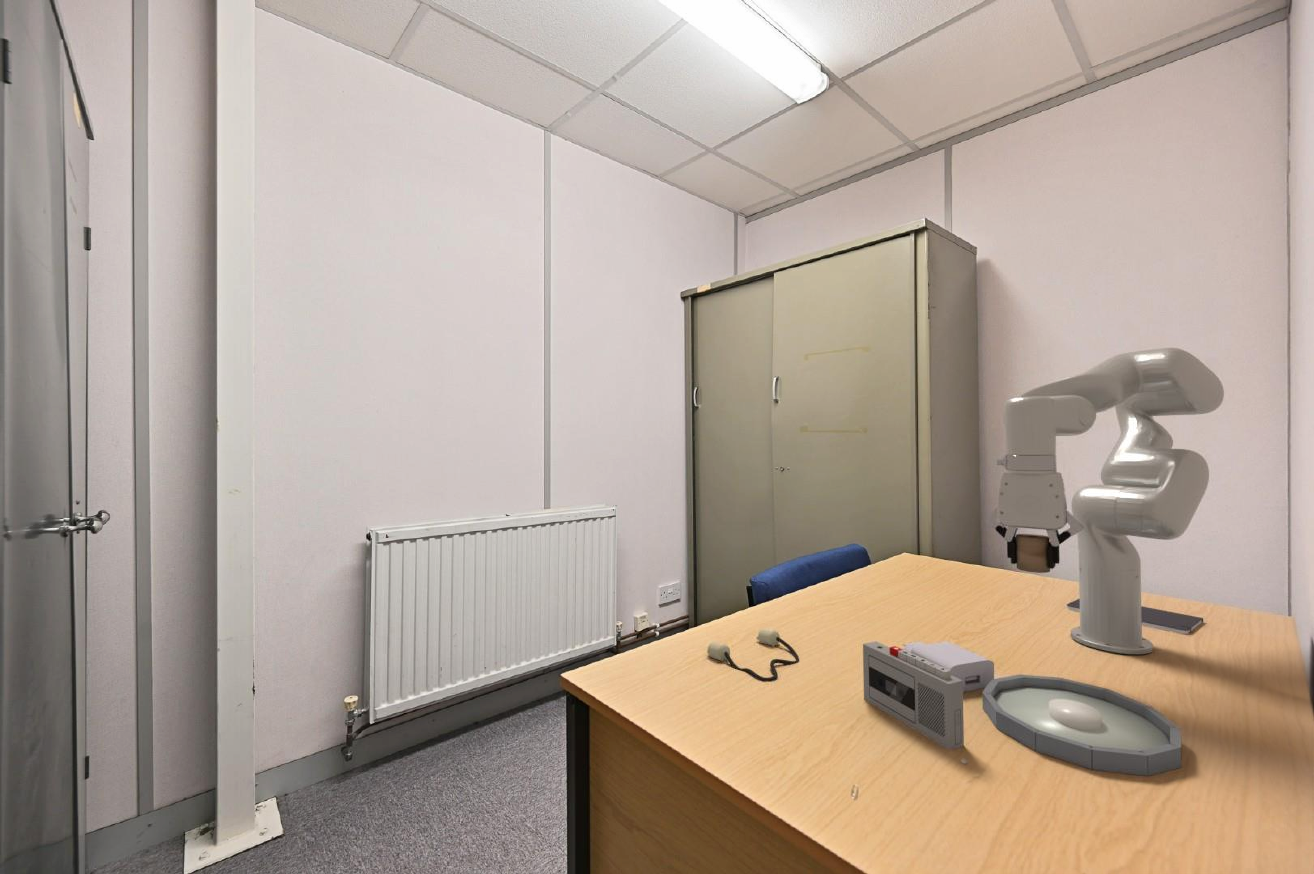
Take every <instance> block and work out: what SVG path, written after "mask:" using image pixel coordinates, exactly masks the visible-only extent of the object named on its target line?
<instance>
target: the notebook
mask: <svg viewBox="0 0 1314 874" xmlns="http://www.w3.org/2000/svg"><path fill="white" fill-rule="evenodd" d="M1066 606H1067V610H1069V611H1073V612H1078V613H1080V597H1079V598H1077V599H1075V600H1073V601H1071V602H1069V603H1066ZM1141 613H1142V627H1147V626H1149V627H1148V628H1151V627H1153V628H1152V629H1157V630H1162V631H1166V630H1168V631H1167V632H1170V631H1172V633H1175V632H1176V634H1179V635H1180V634H1181V635H1188V634H1189V633H1190V634H1192V631H1193V630H1194V629H1196V628H1197V627H1198V626H1199V625H1201V624H1202V622H1203V623H1204V618H1203V617H1199V616H1193V615H1189V614H1185V613H1178V612H1173V611H1167V610H1163V609H1158V608H1153V607H1147V606H1142V605H1141ZM1191 630H1192V631H1191Z"/></svg>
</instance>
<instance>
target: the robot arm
mask: <svg viewBox="0 0 1314 874" xmlns="http://www.w3.org/2000/svg"><path fill="white" fill-rule="evenodd" d="M1224 396H1225V390H1224V386H1223V384H1222V381H1221V379H1220V378H1219V377H1218V376H1217V375H1216V374H1215V372H1214V371H1212V370H1211V369H1210V368H1209V367H1208V366H1207V365H1205V364H1204V362H1203V361H1201V360H1200V359H1199V358H1197V357H1196V356H1194V355H1193V354H1192V353H1190V352H1188V351H1186V350H1184V349H1181V348H1178V347H1162V348H1156V349H1147V350H1145V349H1144V350H1138V351H1131V352H1124V353H1119V354H1116V355H1113V356H1111V357H1109V358H1107V359H1105V360H1104V361H1102V362H1100V363H1099V364H1097V365H1095V366H1093V367H1092V368H1090V369H1087V370H1086V371H1084V372H1082V373H1079V374H1075V375H1072V376H1068V377H1065V378H1062V379H1060V380H1056V381H1054V382H1050V383H1047V384H1043V385H1039V386H1038V387H1033V388H1032V389H1029V390H1027V391H1025V392H1023V393H1021V394H1019V395H1018V396H1016V397H1012V398H1009V399H1008V400H1007V401H1006V402H1005V406H1004V412H1003V415H1002V416H1003V417H1002V421H1003V424H1004V431H1005V432H1004V433H1005V436H1004V437H1005V439H1004V440H1005V455H1004V456H1003V457H997V458H996V465H997V466H1002V467H1004V468H1005V470H1004V471H1001V472H1000V475H999V482H998V489H997V503H996V508H995V509H994V510H993V511H992V513H990V514H989V516H988V517H987V518H985V520H984V521H985V523H986V524H987V525H988V526H990V527H991V528H992V529H993V530H995V531H996V532H997V533H998V534H999V535H1000V536H1001V537H1002V538H1003V539H1004V541H1006V553H1007V555H1006V556H1007V559H1010V563H1011V565H1016V563H1017V562H1016V535H1017V532H1018V529H1019V528H1021V529H1033V530H1044V531H1046V533H1047V536H1048V537H1049V546H1048V547H1047V554H1048V568H1050V570H1053V569H1055V567H1056V565H1057V564H1058V565H1060V562H1061V561H1060V559H1061V558H1060V546H1061V544H1062V543H1064V542H1066V541H1067V540H1068V539H1070V538H1071V537H1073V536H1074V535H1077V544H1078V545H1077V547H1078V581H1079V582H1078V585H1079V589H1078V590H1079V591H1078V592H1079V598H1080V612H1079V626H1076V627H1072V629H1070V637H1071V638H1072V639H1073V640H1075V642H1077V643H1079V644H1081V645H1083V646H1087V647H1091V648H1093V649H1095V650H1096V649H1097V650H1100V651H1105V652H1111V653H1115V654H1123V655H1146V654H1147V655H1148V654H1150V653H1152V652H1153V651H1154V645H1153V643H1152V642H1151V641H1150V639H1148V638H1145V637H1143V628H1142V627H1143V626H1142V613H1141V606H1142V572H1141V571H1142V569H1141V567H1142V565H1141V564H1142V563H1141V557H1140V553H1139V552H1138V550H1137V548H1136V547H1135V545H1134V544H1133V542H1132V541H1131V540H1130V539H1129V537H1128V536H1130V537H1138V538H1145V539H1146V538H1147V539H1153V540H1154V539H1155V540H1161V541H1163V540H1164V541H1165V540H1166V541H1168V540H1175V539H1178V538H1179V537H1181V536H1182V535H1184V533H1185V532H1186V530H1187V529H1188V528H1189V525H1190V524H1191V521H1192V520H1193V517H1194V516H1195V514H1196V511H1197V509H1198V507H1199V506H1200V503H1201V502H1202V499H1203V498H1204V495H1205V493H1206V491H1207V489H1208V485H1209V481H1210V480H1209V479H1210V470H1209V465H1208V462H1207V461H1206V459H1205V458H1204V457H1203V456H1202V455H1201V454H1200V453H1198V452H1196V451H1195V450H1190V449H1185V448H1173V446H1174V439H1173V437H1172V435H1171V434H1170V433H1169V431H1168V430H1167V428H1165V427H1164V426H1163V425H1162V424H1160V423H1159V422H1157V421H1155V419H1154V417H1161V416H1162V417H1164V416H1166V417H1167V416H1184V415H1185V416H1187V415H1188V416H1191V415H1193V416H1194V415H1205V414H1209V413H1212V412H1214V411H1216V410H1217V409H1218V408H1219V407H1220V406H1221V405H1222V403H1223V401H1224V399H1225V397H1224ZM1113 408H1114V409H1115V413H1116V416H1117V421H1118V425H1119V430H1120V435H1119V437H1118V440H1117V441H1116V443H1115V445H1114V446H1113V448H1112V449H1111V451H1110V453H1109V455H1108V456H1107V458H1106V459H1105V462H1104V464H1103V466H1102V468H1101V470H1100V479H1101V482H1102V484H1090V485H1086V486H1083V487H1081V488H1079V489H1078V490H1077V491H1076V492H1075V493H1074V494H1073V496H1072V498H1071V512H1070V511H1069V510H1068V506H1067V505H1068V504H1067V497H1066V496H1067V495H1066V488H1065V484H1064V479H1063V476H1062V473H1061V472H1059V471H1058V472H1057V439H1056V438H1057V437H1072V436H1078V435H1082V434H1084V433H1086V432H1088V431H1089V430H1091V428H1093V426H1094V425H1095V422H1096V419H1097V414H1098V413H1102V412H1103V413H1104V412H1106V411H1108V410H1112V409H1113ZM1067 524H1068V525H1069V528H1067V529H1066V530H1065V529H1064V531H1062V532H1061V533H1060V532H1059V530H1061V529H1063V528H1064V527H1065V526H1066V525H1067ZM1006 527H1007V528H1006Z"/></svg>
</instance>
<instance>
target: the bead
mask: <svg viewBox="0 0 1314 874" xmlns="http://www.w3.org/2000/svg"><path fill="white" fill-rule="evenodd" d="M1015 537H1016V562H1017V563H1015V565H1016V569H1017V570H1019V571H1022V572H1028V573H1036V574H1037V573H1038V574H1039V573H1040V574H1044V573H1050V572H1051V569H1050V568H1048V554H1047V547H1048V546H1049V542H1050V539H1049V537H1048V535H1044V534H1037V533H1018V534H1017V533H1016V536H1015Z"/></svg>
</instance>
